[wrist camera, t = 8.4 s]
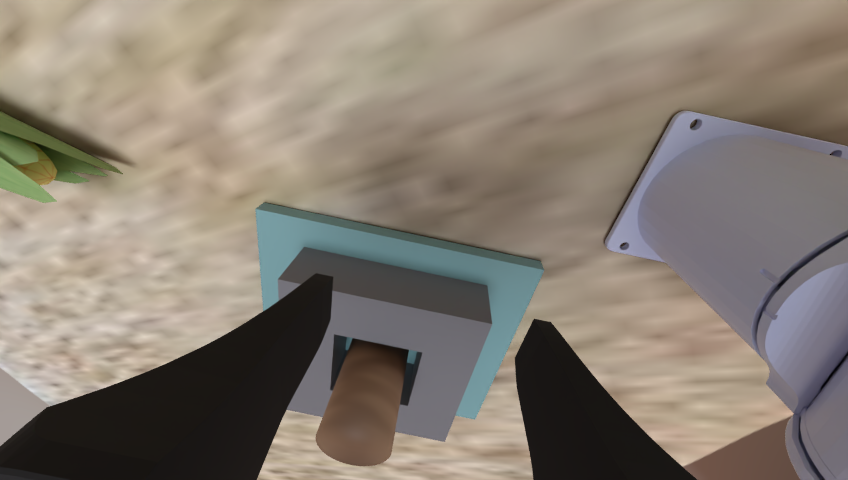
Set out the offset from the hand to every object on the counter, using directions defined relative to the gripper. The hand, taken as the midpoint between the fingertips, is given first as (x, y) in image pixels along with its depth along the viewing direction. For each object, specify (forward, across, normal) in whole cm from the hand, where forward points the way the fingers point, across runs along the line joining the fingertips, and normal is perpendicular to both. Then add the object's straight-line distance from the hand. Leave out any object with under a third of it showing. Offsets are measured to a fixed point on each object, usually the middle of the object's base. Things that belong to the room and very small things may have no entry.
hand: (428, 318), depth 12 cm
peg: (+8, +2, +10) cm, 13 cm away
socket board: (+9, +2, +10) cm, 14 cm away
